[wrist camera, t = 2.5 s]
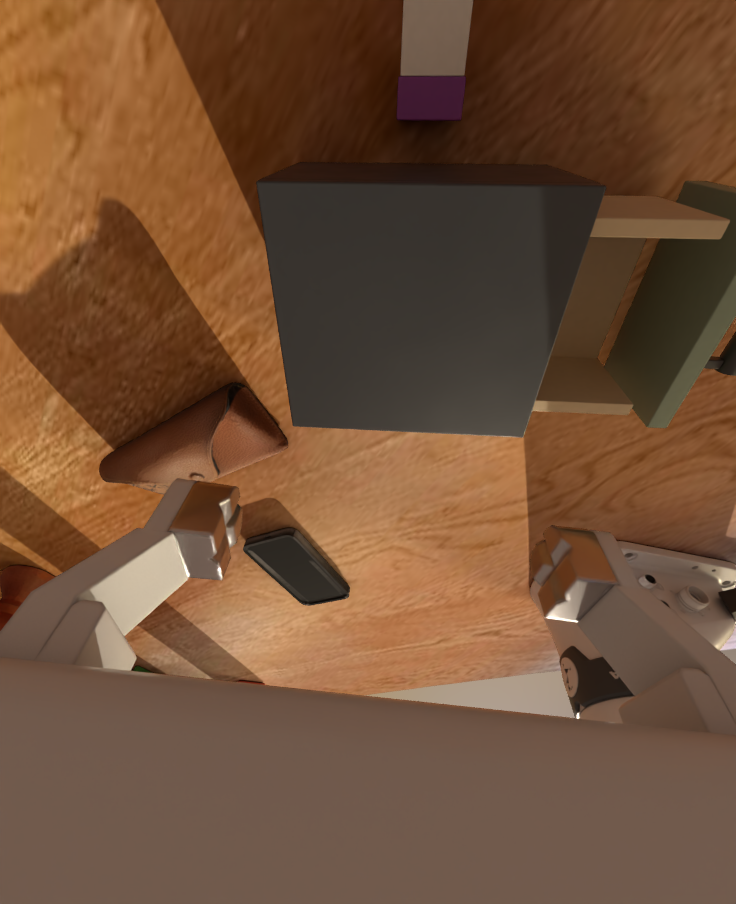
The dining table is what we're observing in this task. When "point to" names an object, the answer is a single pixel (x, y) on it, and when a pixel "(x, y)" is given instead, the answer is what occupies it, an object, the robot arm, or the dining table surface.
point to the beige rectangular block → (433, 59)
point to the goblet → (18, 588)
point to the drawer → (648, 306)
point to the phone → (297, 566)
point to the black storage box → (422, 289)
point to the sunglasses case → (198, 443)
